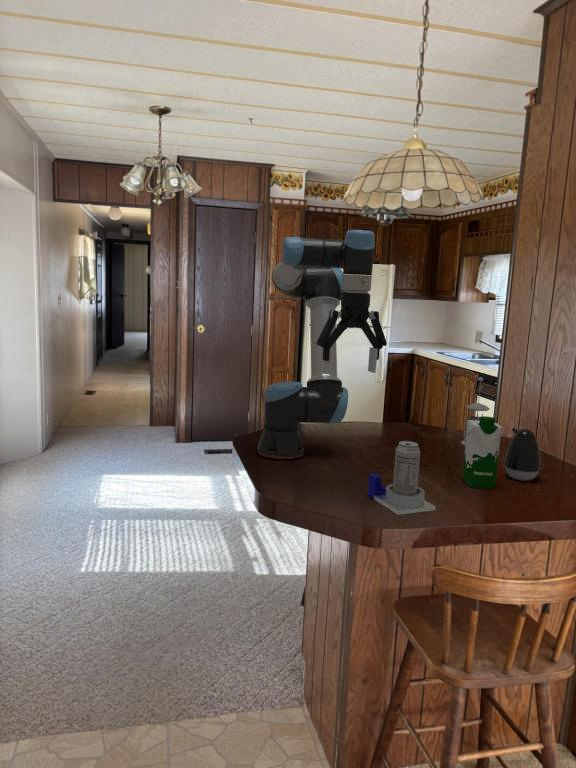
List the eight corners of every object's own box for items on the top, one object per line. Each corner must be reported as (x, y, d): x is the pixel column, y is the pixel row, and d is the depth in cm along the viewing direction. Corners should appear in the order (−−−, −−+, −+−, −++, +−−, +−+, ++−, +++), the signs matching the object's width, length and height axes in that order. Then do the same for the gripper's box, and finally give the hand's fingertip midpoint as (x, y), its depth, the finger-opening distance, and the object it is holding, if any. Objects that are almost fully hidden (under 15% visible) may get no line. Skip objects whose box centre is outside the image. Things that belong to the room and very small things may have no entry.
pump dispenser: (520, 471, 180) (526, 424, 178) (546, 482, 170) (552, 432, 168) (494, 474, 176) (499, 425, 174) (519, 484, 167) (525, 433, 164)
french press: (485, 441, 216) (492, 376, 213) (492, 449, 205) (499, 380, 201) (458, 439, 218) (464, 374, 214) (463, 447, 206) (470, 378, 203)
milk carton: (467, 488, 161) (474, 418, 158) (458, 478, 170) (465, 412, 167) (498, 490, 161) (506, 420, 158) (488, 479, 170) (495, 413, 167)
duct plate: (374, 499, 149) (375, 484, 148) (409, 495, 153) (410, 480, 153) (398, 514, 139) (399, 499, 138) (435, 510, 143) (436, 494, 143)
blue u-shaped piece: (402, 490, 158) (404, 469, 157) (412, 495, 154) (414, 474, 153) (365, 494, 153) (366, 472, 152) (373, 500, 149) (375, 477, 148)
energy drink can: (418, 499, 147) (423, 442, 145) (412, 506, 142) (417, 448, 140) (395, 495, 150) (400, 439, 148) (388, 502, 145) (393, 444, 142)
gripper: (320, 291, 140) (315, 376, 144) (404, 294, 151) (397, 373, 155) (306, 289, 147) (302, 371, 151) (387, 292, 157) (381, 369, 161)
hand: (350, 372), depth 153 cm, fingers open, 13 cm apart
